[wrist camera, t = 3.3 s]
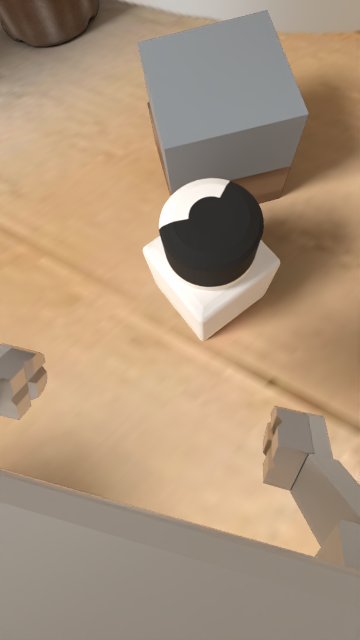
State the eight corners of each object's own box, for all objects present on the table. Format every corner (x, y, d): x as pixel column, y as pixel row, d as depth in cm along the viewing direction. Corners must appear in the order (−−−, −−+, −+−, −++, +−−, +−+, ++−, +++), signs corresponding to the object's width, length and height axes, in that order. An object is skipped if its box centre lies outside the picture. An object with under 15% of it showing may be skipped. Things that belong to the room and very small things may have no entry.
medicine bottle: (265, 294, 29) (304, 223, 18) (202, 343, 29) (199, 302, 17) (215, 238, 31) (220, 140, 20) (154, 283, 31) (122, 209, 19)
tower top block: (149, 101, 30) (137, 42, 25) (257, 74, 30) (267, 10, 25) (171, 194, 27) (164, 149, 22) (290, 165, 27) (308, 114, 22)
